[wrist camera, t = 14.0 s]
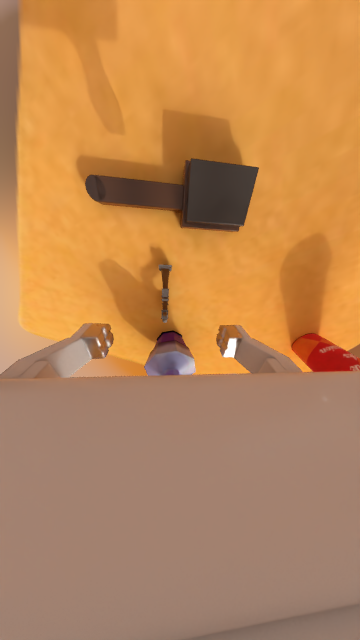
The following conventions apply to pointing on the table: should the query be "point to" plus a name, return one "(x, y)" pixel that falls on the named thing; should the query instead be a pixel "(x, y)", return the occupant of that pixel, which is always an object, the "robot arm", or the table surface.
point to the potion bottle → (170, 356)
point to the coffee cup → (324, 355)
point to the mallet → (187, 194)
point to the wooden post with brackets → (165, 289)
